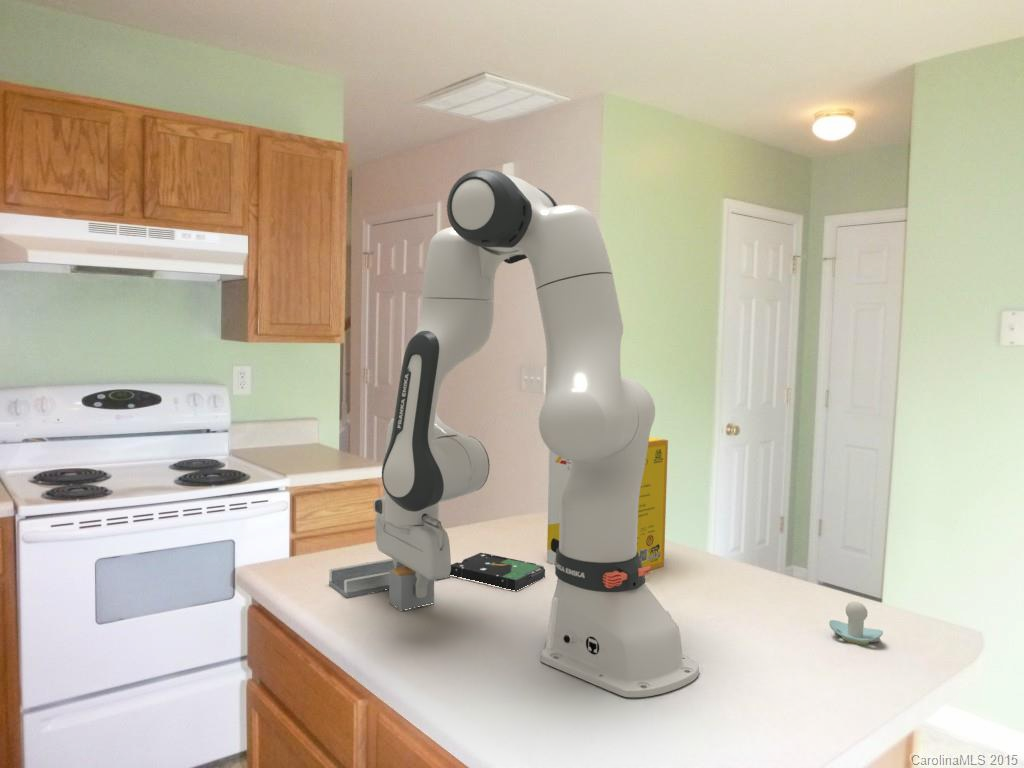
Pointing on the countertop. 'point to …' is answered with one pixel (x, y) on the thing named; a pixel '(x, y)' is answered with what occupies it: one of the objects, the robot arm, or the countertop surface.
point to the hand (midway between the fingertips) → (411, 591)
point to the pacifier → (855, 626)
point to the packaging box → (648, 506)
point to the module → (407, 589)
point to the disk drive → (498, 571)
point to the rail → (361, 578)
